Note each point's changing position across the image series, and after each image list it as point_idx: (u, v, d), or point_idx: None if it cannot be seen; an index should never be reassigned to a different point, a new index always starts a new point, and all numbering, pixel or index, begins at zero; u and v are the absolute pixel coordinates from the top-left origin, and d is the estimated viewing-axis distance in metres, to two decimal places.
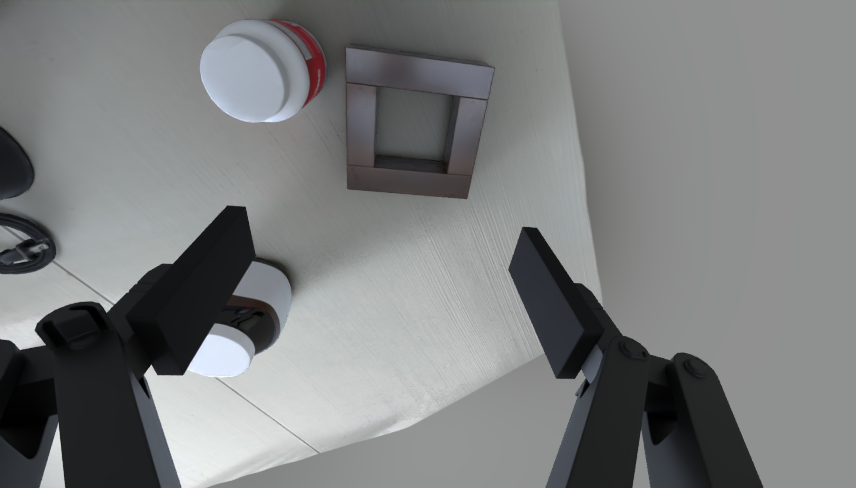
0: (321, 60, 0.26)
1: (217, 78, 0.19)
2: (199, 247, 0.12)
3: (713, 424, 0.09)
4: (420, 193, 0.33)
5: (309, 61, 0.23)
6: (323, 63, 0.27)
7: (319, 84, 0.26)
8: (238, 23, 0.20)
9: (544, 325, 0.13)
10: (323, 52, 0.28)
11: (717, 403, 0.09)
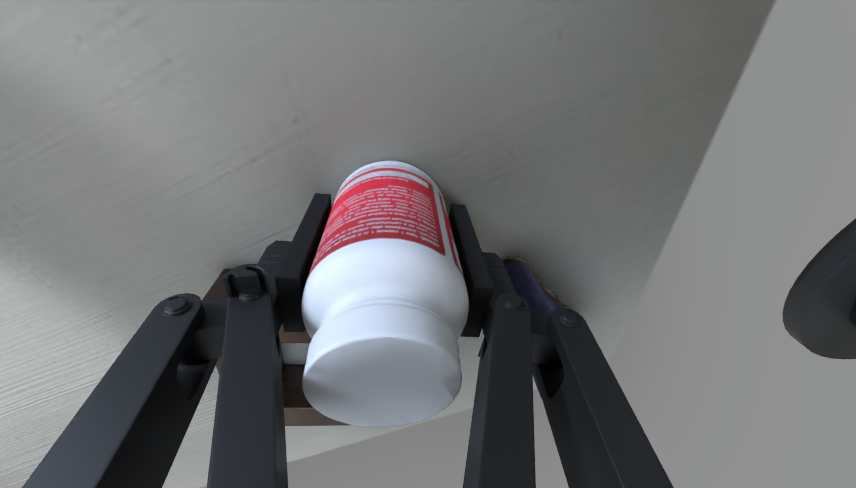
0: None
1: (387, 359, 0.09)
2: (308, 226, 0.14)
3: (590, 368, 0.10)
4: None
5: None
6: None
7: None
8: (466, 309, 0.12)
9: None
10: None
11: (589, 346, 0.10)
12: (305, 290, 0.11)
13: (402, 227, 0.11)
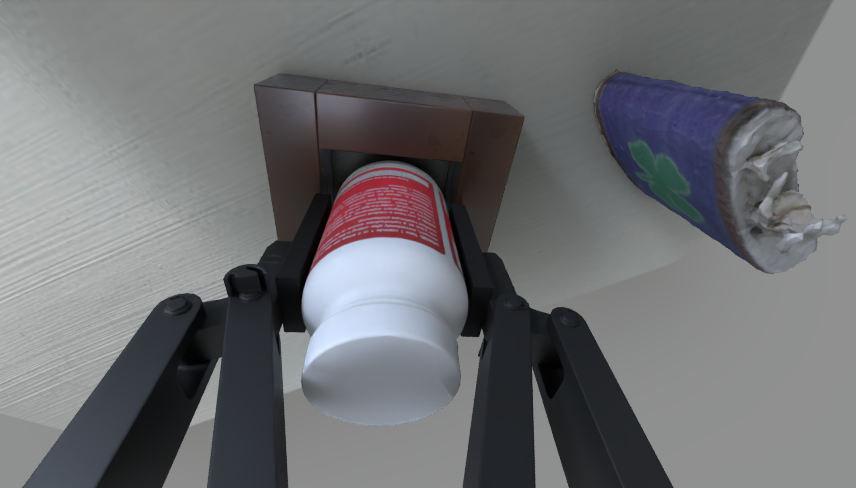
0: None
1: (386, 358, 0.09)
2: (308, 226, 0.14)
3: (590, 368, 0.10)
4: (280, 229, 0.18)
5: None
6: None
7: None
8: (465, 309, 0.12)
9: None
10: None
11: (589, 346, 0.10)
12: (304, 289, 0.11)
13: (402, 226, 0.11)
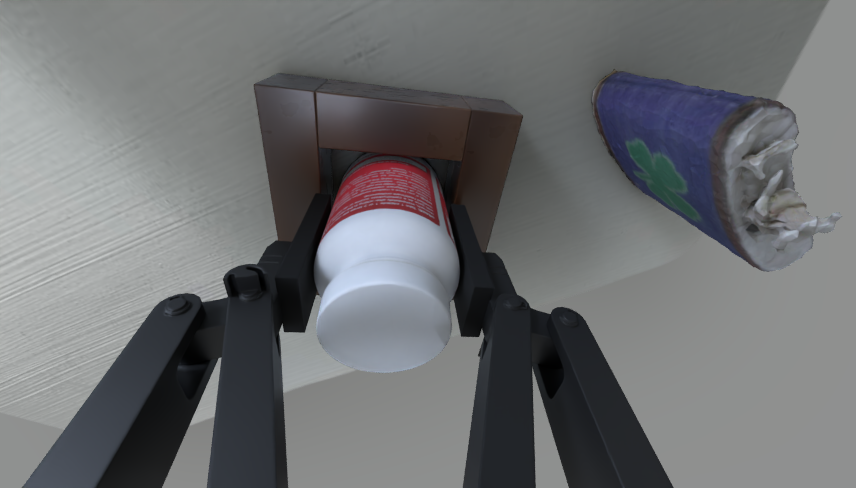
0: None
1: (388, 305, 0.10)
2: (308, 226, 0.14)
3: (590, 368, 0.10)
4: (280, 228, 0.18)
5: None
6: None
7: None
8: (457, 274, 0.13)
9: (457, 290, 0.14)
10: None
11: (589, 346, 0.10)
12: (317, 253, 0.13)
13: (402, 200, 0.13)
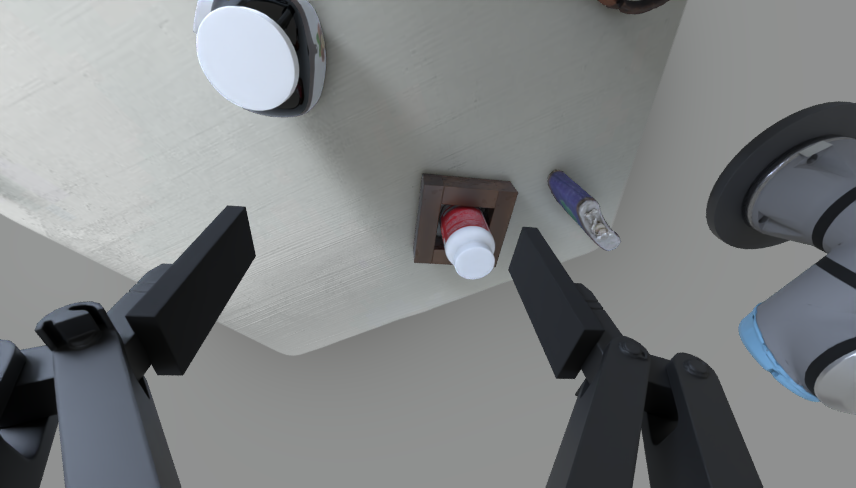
0: None
1: (478, 254, 0.37)
2: (199, 247, 0.12)
3: (713, 424, 0.09)
4: (419, 234, 0.43)
5: None
6: None
7: None
8: (494, 247, 0.40)
9: (544, 325, 0.13)
10: None
11: (717, 403, 0.09)
12: (449, 240, 0.39)
13: (476, 223, 0.39)
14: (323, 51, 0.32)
